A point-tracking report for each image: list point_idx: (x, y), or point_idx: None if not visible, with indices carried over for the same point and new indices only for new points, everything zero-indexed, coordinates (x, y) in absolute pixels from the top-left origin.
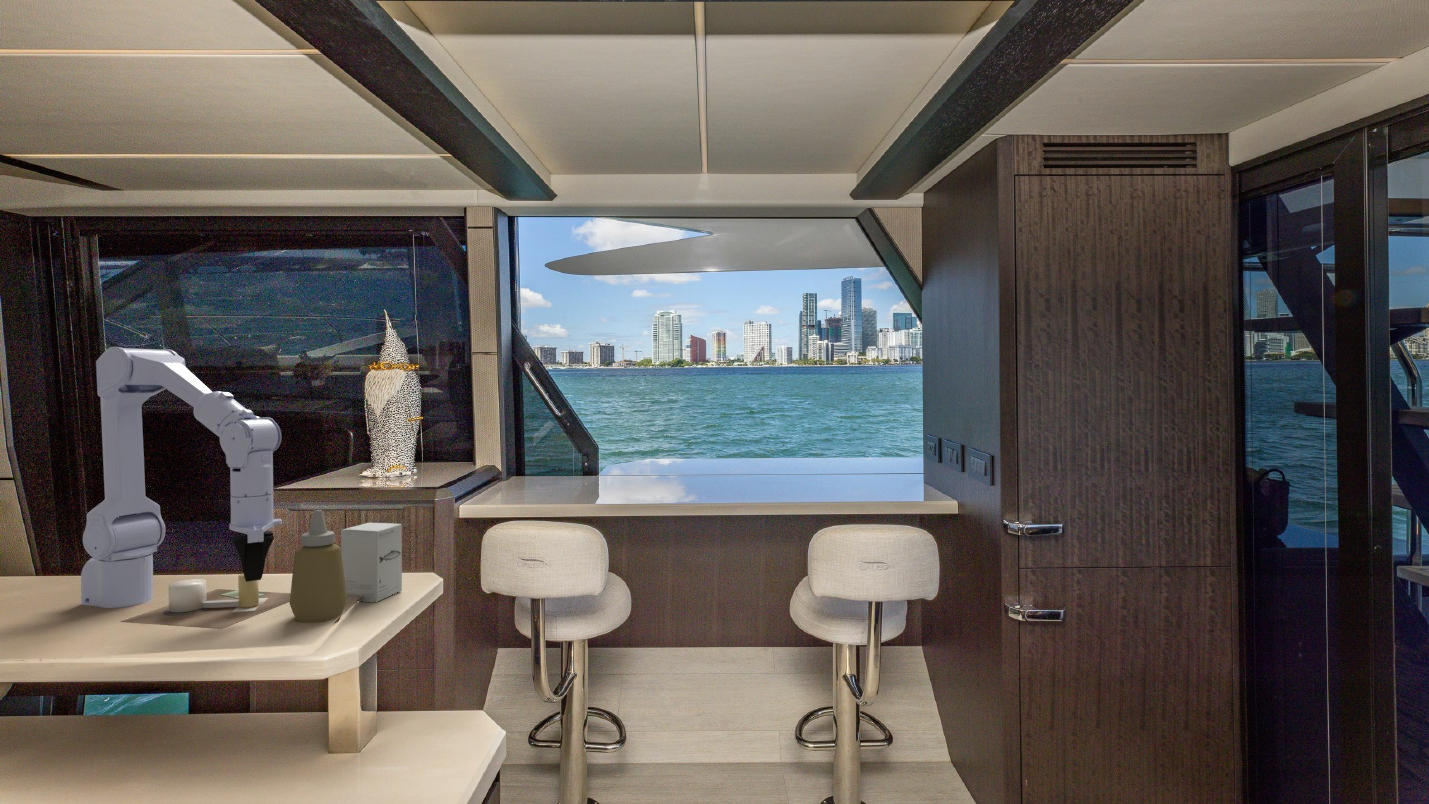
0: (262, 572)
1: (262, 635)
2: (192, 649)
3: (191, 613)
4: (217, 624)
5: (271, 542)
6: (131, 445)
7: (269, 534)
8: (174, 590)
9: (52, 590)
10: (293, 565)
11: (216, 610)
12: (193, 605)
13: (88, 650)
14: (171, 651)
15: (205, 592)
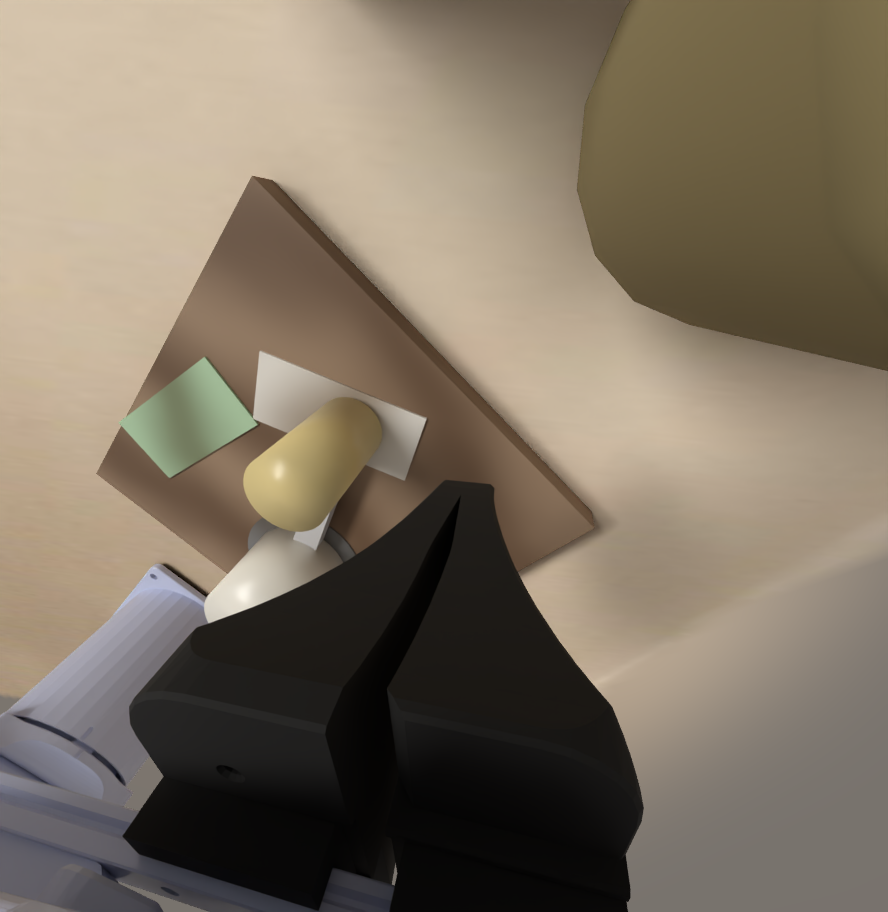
0: (494, 504)
1: (689, 410)
2: (664, 582)
3: None
4: (530, 530)
5: (606, 701)
6: None
7: (340, 742)
8: None
9: (35, 670)
10: (861, 364)
11: (354, 510)
12: None
13: None
14: (637, 615)
15: (284, 563)
